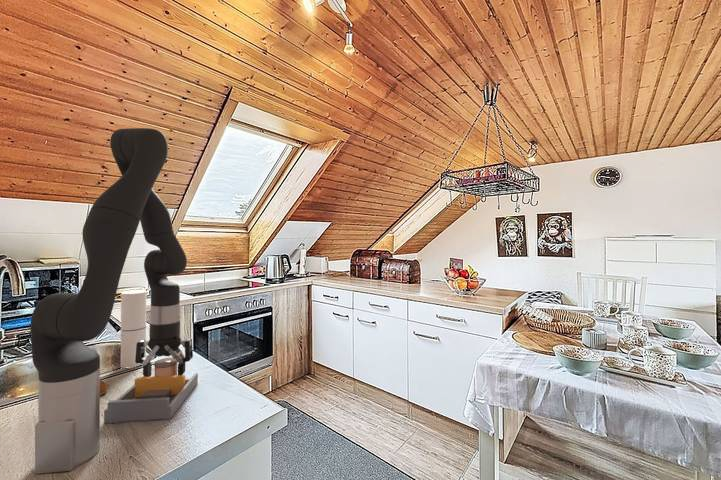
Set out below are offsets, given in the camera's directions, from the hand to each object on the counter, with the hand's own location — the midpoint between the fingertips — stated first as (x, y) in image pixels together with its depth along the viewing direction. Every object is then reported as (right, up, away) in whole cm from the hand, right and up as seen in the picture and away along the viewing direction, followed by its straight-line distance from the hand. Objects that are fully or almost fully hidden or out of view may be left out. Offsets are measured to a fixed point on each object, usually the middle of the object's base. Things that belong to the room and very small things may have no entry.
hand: (164, 376), depth 92 cm
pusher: (+1, -4, -4) cm, 6 cm away
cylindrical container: (-22, -4, +19) cm, 30 cm away
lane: (+1, -5, -6) cm, 8 cm away
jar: (0, -4, +1) cm, 4 cm away
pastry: (-21, -5, -1) cm, 21 cm away
